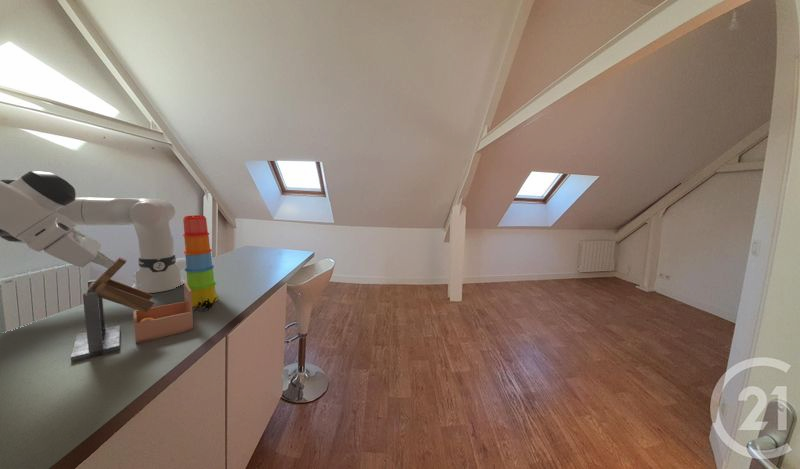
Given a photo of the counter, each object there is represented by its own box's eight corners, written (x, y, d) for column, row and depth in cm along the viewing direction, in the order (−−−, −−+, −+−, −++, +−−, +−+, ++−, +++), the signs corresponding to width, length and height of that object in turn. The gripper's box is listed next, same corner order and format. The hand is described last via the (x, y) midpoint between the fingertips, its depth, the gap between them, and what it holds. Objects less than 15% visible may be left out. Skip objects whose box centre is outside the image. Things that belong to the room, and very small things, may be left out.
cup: (134, 328, 84) (131, 289, 82) (187, 317, 94) (185, 281, 92) (135, 343, 76) (132, 300, 75) (193, 329, 86) (191, 291, 84)
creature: (186, 314, 98) (202, 314, 95) (183, 300, 97) (199, 299, 95) (207, 306, 105) (222, 306, 103) (204, 293, 105) (219, 292, 102)
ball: (151, 313, 84) (158, 323, 85) (135, 320, 81) (141, 330, 83) (152, 317, 81) (159, 328, 82) (135, 325, 78) (142, 336, 80)
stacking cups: (218, 304, 106) (215, 217, 101) (185, 308, 100) (180, 216, 95) (217, 295, 114) (215, 214, 109) (187, 299, 108) (183, 214, 103)
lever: (87, 286, 75) (119, 254, 79) (142, 305, 84) (168, 275, 88) (83, 297, 68) (119, 261, 72) (144, 317, 77) (172, 284, 81)
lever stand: (78, 338, 77) (71, 282, 75) (120, 329, 83) (115, 277, 81) (71, 362, 67) (63, 298, 65) (119, 350, 73) (114, 291, 71)
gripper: (46, 235, 72) (103, 265, 80) (26, 248, 58) (97, 284, 66) (70, 219, 75) (123, 250, 83) (57, 228, 61) (122, 264, 69)
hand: (112, 265), depth 75 cm, fingers closed, pressing on lever
